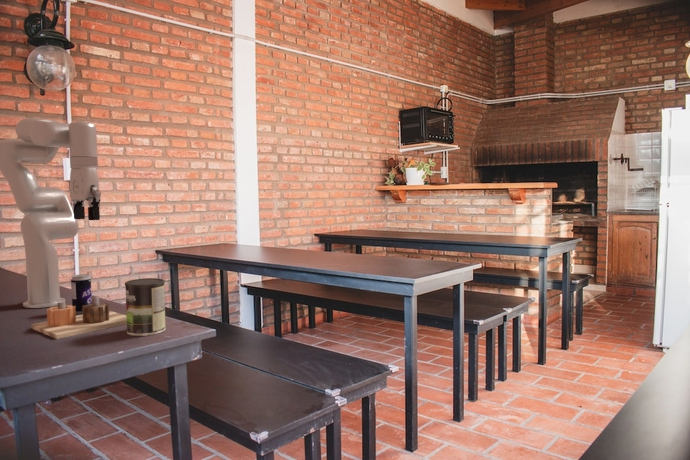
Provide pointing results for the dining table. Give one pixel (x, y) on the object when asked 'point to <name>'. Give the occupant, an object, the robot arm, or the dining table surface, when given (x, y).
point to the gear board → (84, 320)
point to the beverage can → (81, 291)
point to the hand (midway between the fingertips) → (86, 219)
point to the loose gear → (61, 316)
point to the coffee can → (145, 306)
